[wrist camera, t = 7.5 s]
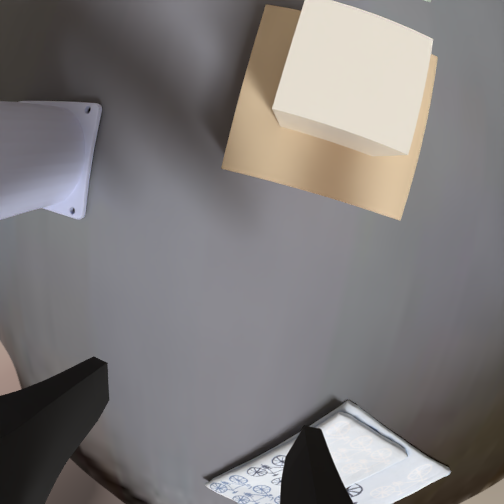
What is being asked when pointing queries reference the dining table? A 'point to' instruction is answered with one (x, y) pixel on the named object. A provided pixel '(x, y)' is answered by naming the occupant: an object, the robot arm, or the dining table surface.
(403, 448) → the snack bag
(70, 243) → the dining table surface
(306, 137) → the oak base
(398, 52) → the cream block
